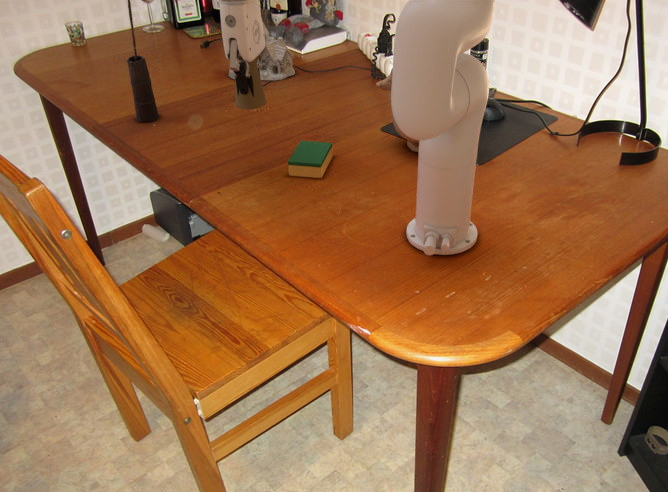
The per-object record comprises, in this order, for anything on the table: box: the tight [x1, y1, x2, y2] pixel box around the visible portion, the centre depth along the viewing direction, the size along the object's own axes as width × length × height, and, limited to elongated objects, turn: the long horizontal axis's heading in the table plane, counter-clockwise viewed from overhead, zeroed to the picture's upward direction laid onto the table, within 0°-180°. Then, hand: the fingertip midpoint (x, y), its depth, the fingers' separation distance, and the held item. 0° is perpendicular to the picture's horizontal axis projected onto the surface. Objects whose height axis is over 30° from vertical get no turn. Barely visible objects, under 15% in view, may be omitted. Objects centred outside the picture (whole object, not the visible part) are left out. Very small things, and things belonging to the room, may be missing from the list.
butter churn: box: [124, 0, 160, 123], centre depth 147 cm, size 9×10×28 cm
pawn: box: [234, 55, 267, 110], centre depth 123 cm, size 6×6×11 cm
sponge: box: [287, 140, 334, 179], centre depth 136 cm, size 10×7×3 cm
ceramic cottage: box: [228, 20, 296, 81], centre depth 176 cm, size 16×16×15 cm
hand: (249, 91), depth 125 cm, fingers closed on pawn, 3 cm apart
